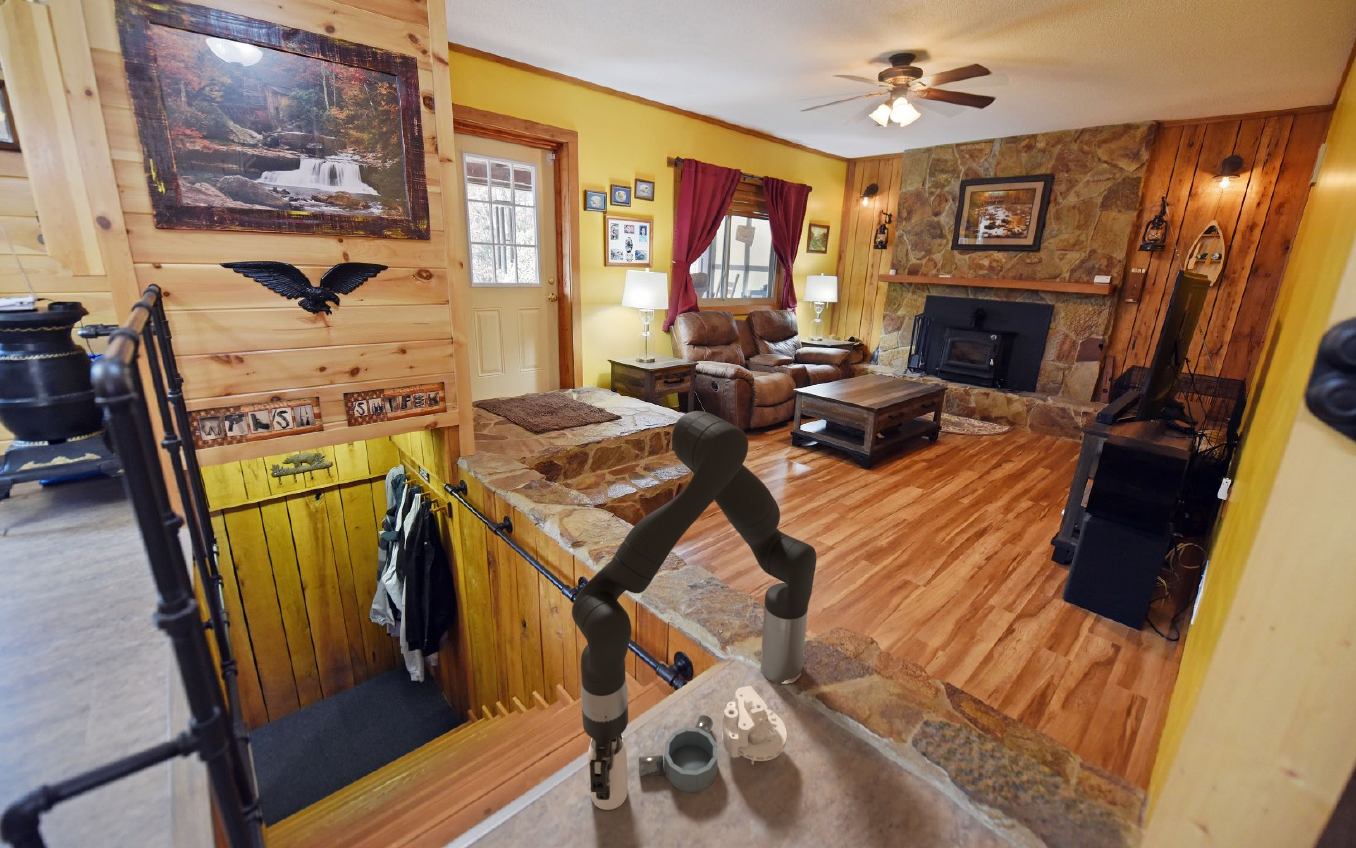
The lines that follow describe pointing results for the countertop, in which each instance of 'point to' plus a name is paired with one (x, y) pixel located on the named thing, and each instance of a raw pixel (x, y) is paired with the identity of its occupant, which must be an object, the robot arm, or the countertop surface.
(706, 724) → the shaft
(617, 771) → the can
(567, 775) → the countertop surface
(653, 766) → the shaft
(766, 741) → the mechanical part
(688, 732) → the collar
